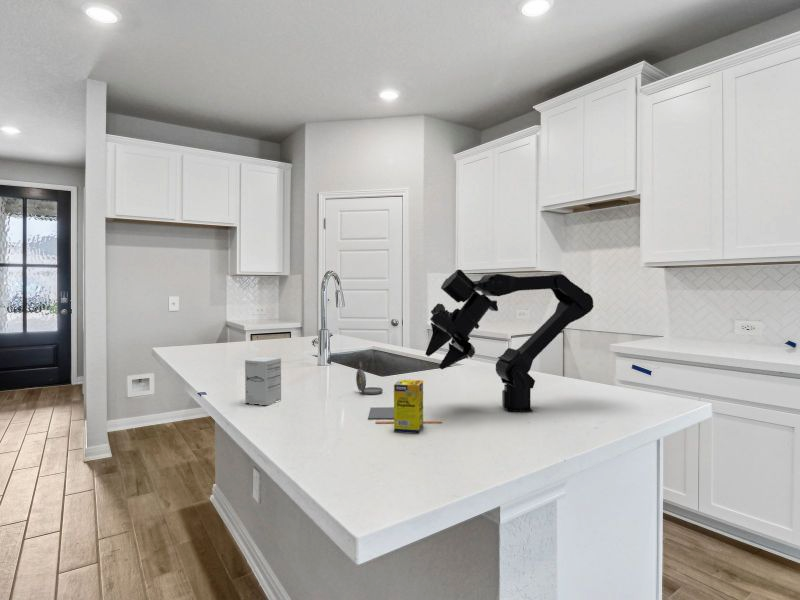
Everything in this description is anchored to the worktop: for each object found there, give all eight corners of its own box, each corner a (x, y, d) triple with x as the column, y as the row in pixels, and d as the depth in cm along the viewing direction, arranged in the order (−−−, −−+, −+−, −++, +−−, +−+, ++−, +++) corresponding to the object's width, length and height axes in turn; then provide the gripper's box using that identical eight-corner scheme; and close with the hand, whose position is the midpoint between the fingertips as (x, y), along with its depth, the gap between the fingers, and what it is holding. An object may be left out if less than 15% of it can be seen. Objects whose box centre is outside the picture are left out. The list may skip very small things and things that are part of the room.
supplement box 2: (419, 434, 106) (419, 385, 106) (393, 432, 107) (393, 384, 107) (423, 426, 112) (423, 379, 111) (398, 424, 113) (398, 379, 113)
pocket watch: (386, 391, 148) (386, 359, 148) (370, 397, 141) (370, 363, 140) (365, 388, 152) (365, 357, 152) (349, 394, 145) (348, 361, 145)
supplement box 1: (244, 404, 134) (243, 359, 133) (261, 398, 140) (260, 355, 140) (266, 406, 131) (265, 361, 130) (282, 400, 138) (281, 357, 137)
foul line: (441, 421, 115) (441, 420, 115) (442, 423, 114) (442, 421, 114) (375, 422, 115) (375, 421, 115) (375, 423, 114) (375, 422, 114)
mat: (415, 408, 127) (415, 407, 127) (416, 419, 117) (416, 417, 117) (370, 408, 127) (370, 407, 127) (368, 419, 117) (368, 417, 117)
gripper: (459, 315, 135) (425, 359, 133) (435, 283, 120) (397, 332, 118) (490, 334, 128) (455, 380, 126) (468, 302, 113) (428, 354, 111)
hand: (433, 362), depth 121 cm, fingers open, 9 cm apart
